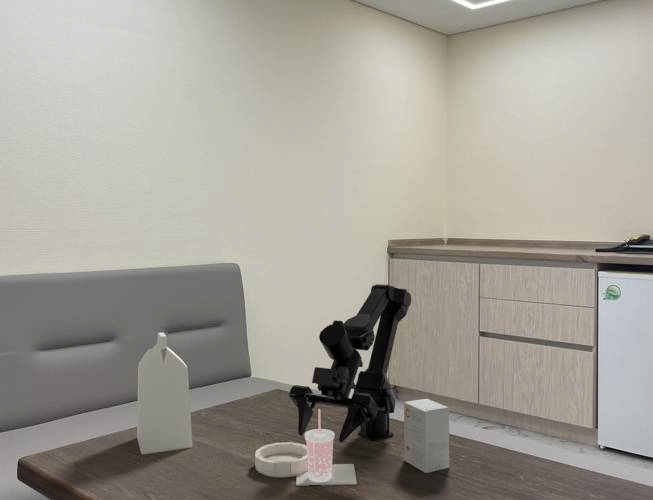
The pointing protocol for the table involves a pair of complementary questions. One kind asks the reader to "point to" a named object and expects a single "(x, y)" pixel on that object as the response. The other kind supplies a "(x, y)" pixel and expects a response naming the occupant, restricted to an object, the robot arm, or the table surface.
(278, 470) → the bowl
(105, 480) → the table surface
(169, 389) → the milk
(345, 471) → the mat
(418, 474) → the table surface
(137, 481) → the table surface
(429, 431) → the small box
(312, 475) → the beverage cup
